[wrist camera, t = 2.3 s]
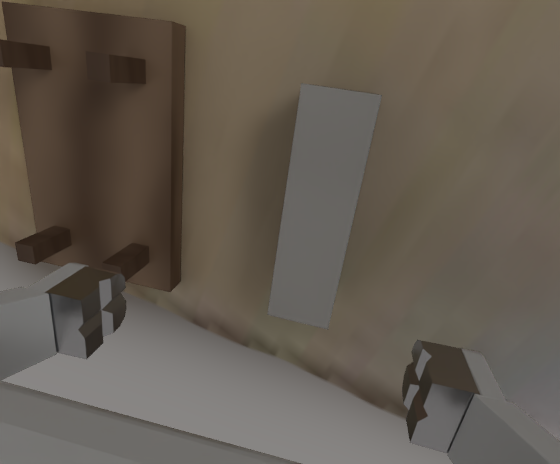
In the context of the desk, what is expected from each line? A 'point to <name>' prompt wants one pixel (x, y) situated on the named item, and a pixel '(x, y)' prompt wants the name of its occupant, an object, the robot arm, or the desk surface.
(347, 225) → the grey rectangular block
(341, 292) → the desk surface
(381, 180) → the desk surface
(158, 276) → the footed brown board
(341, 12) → the desk surface
